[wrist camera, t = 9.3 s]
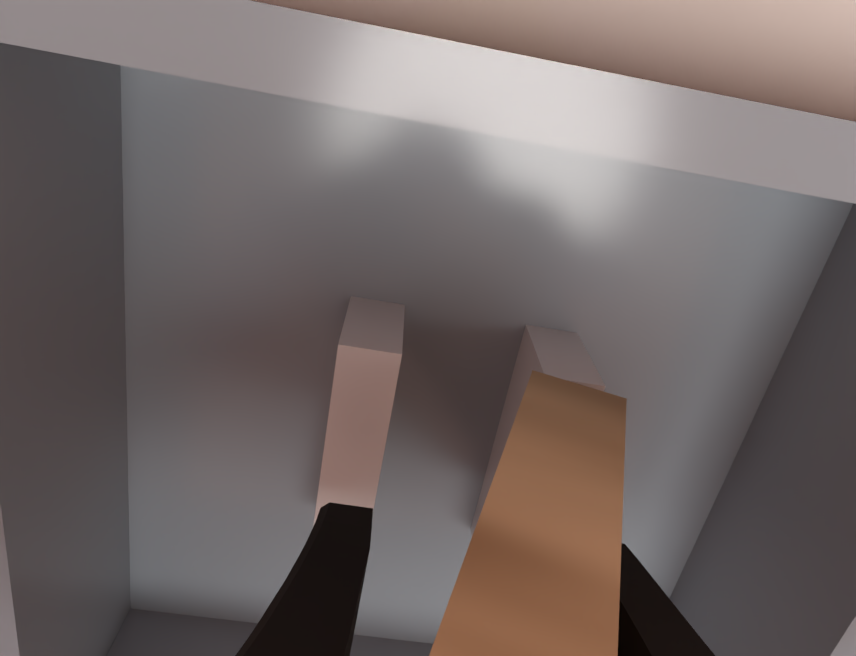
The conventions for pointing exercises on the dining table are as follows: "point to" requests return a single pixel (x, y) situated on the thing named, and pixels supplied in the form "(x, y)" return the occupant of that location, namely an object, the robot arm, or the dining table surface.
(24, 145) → the shallow gray planter box
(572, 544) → the wooden plank block
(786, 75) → the dining table surface
